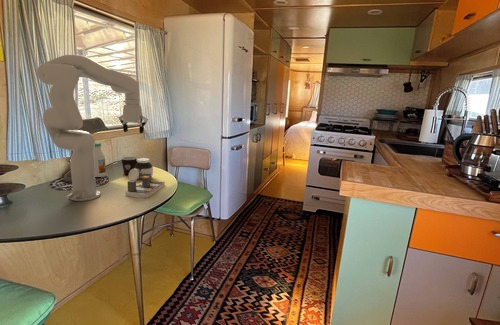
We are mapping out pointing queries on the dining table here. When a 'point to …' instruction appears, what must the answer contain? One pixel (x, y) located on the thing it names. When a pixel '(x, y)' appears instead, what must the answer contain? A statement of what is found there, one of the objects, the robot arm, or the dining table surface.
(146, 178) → the breaker
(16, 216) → the dining table surface
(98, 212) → the dining table surface
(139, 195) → the small tray
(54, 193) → the dining table surface
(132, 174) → the spread jar
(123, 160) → the coffee mug
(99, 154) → the milk bottle
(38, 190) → the dining table surface
